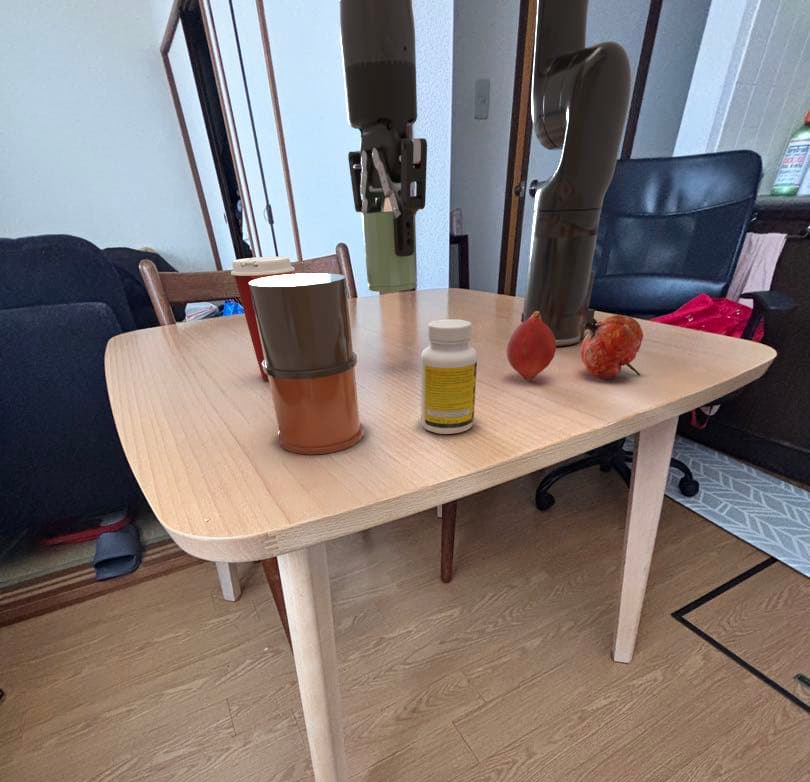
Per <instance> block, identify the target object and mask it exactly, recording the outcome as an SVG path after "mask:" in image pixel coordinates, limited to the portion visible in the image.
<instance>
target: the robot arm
mask: <svg viewBox="0 0 810 782" xmlns="http://www.w3.org/2000/svg"><path fill="white" fill-rule="evenodd" d="M589 2H590V0H536V18H535V33H534V35H535V36H534V50H533V64H532V78H531V79H532V80H531V99H530V101H531V120H532V127H533V131H534V134H535V136H536V139H537V140H538V142H539V143H540V145H541V146H542V147H543V148H545V149H546V150H549V151H561V150H562V152H561V157H560V161H559V163H558V166H557V168H556V169H555V170H554V172H553V173H552V174H551V176H550V177H549V178H548V179H546V180H545V181H544V182H543V183H541V184H540V185H538V187H537V189H536V191H535V195H534V201H533V212H532V222H531V232H530V241H529V251H528V261H527V271H526V273H527V274H526V281H525V290H524V299H523V300H524V301H523V310H522V313H521V318H520V319H521V320H520V323H521V324H522V323H523V322H525V321H526V320H527V319H528V318H530V317H531V316H532V315H533V313H534V312H537V311H538V312H540V317H541V320H542V321H543V322H544V323H545V324H546V325H547V326H548V327H549V328H550V329H551V331H552V333H553V334H554V337H555V340H556V347H563V346H570V345H574V344H577V343H579V342H580V341H581V340H584V339H585V332H586V331H589V329H588V328H587V327H584V328H583V326H584V325H585V323H586V322H588V323H591V324H593V325H596V324H597V323H598V320H596V318H595V312H596V309H593V308H590V303H591V299H592V293H593V292H592V291H593V287H594V282H595V281H594V280H595V275H596V273H595V271H594V270H592V267H593V261H594V257H595V250H596V246H597V245H596V244H597V238H598V233H599V227H600V223H601V222H600V221H601V215H602V208H603V204H604V201H605V200H604V199H605V195H606V193H607V191H608V190H609V187H610V185H611V183H612V180H613V177H614V173H615V170H616V165H617V162H618V156H619V151H620V147H621V142H622V138H623V135H624V129H625V126H626V125H625V124H626V121H627V116H628V110H629V107H630V106H629V105H630V99H631V91H632V68H631V62H630V58H629V56H628V53H627V52H626V49H625V48H624V47H623V46H622V45H621V44H620V43H618V42H616V41H611V40H610V41H609V40H608V41H602V42H599V43H595V44H592V45H590V46H587V45H586V44H587V43H586V42H587V26H588V25H587V22H588V11H589ZM339 37H340V50H341V60H342V71H343V81H344V82H343V83H344V84H343V85H344V92H345V93H344V94H345V104H346V116H347V122H348V125H349V126H350V127H351V128H352V129H355V130H358V131H359V132H360V146H359V150H355V151H349V152H348V155H347V159H348V166H349V167H348V168H349V172H350V173H349V175H350V181H351V189H352V196H353V203H354V210H355V212H356V213H361V215H362V214H363V213H373V212H385V211H384V210H385V202H386V199H389V202H390V206H391V211H393V214H394V217H395V218H397V219H393V221H394V240H395V254H396V255H397V256H400V257H403V256H411V255H413V253H414V235H413V234H414V226H413V218H414V216H415V217H416V216H417V212H418V211H420V210H424V209H425V207H426V197H427V194H426V193H427V167H428V166H427V163H428V162H427V160H428V159H427V158H428V142H427V139H426V138H424V137H422V138H420V137H418V138H417V137H416V138H415V137H414V138H413V137H412V138H410V134H409V128H408V127H410V126H413V125H414V124H415V123H416V122H417V120H418V98H417V97H418V94H417V93H418V92H417V58H416V57H417V56H416V27H415V18H414V11H413V0H339ZM415 185H416V186H415ZM414 190H415V191H416V192H415V195H414V192H413V191H414Z"/></svg>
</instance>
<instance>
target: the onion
mask: <svg viewBox="0 0 810 782" xmlns="http://www.w3.org/2000/svg"><path fill="white" fill-rule="evenodd" d="M556 352H557V346H556V340H555V337H554V334H553V333H552V331H551V329H550V328H549V327H548V326H547V325H546V324H545V323H544V322H543V321H542V320H541V317H540V312H538V311H537V312H534V313H533V315H532V316H531V317H530V318H528V319H527V320H526V321H525V322H523V323H522V322H521V323H520V324H519V326H518V327H516V328H515V330H514V331H513V332H512V334H511V336H510V339H509V341H508V343H507V347H506V358H507V361H508V362H509V365H510V366H511V368H513V370H514V371H516V372H517V373H518V374H519V375H520V376H521V377H522V378H523V379H524V380H526V381H530V380H533V379H535V377H536V376H537V375H539V374H540V373H542V372H543V371H544V370H545V369H546V368H547V367H548V366H550V364H551V362H552V361H553V360H554V357H555V354H556Z"/></svg>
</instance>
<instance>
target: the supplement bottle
mask: <svg viewBox="0 0 810 782" xmlns="http://www.w3.org/2000/svg"><path fill="white" fill-rule="evenodd" d="M471 337H472V322H471V321H468V320H465V319H457V318H456V319H455V318H454V319H453V318H451V319H450V318H449V319H438V320H432V321H430V322H429V323H428V324H427V340H428V342H430V343H429V344H430V345H429V346H426V347H425V348H424V349H423V350H422V352H421V354H420V402H421V403H420V414H421V418H420V420H421V425H422V427H423V428H424V429H425V430H427V431H429V432H432V433H434V434H440V435H451V434H452V435H453V434H460V433H463V432H467V431H468V430H470V429H471V428H472V427H473V424H474V422H475V421H474V419H475V405H476V403H475V402H476V387H477V370H478V369H477V368H478V354H477V351H476V349H475V348H474V347H473V346H471V345H469V341H471Z"/></svg>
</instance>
